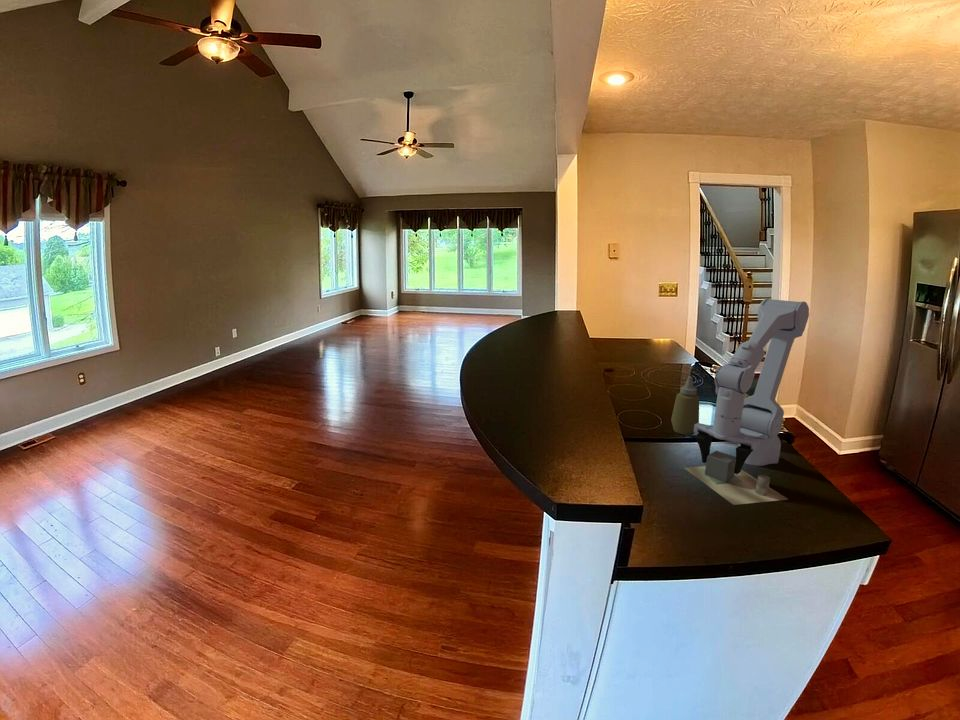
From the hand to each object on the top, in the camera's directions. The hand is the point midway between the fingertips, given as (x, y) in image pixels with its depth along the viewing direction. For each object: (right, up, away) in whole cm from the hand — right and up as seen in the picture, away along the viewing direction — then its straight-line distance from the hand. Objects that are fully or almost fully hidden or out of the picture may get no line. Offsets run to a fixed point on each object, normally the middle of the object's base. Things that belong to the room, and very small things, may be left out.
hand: (720, 467), depth 115 cm
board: (+2, -5, -2) cm, 5 cm away
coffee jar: (+23, +2, +26) cm, 34 cm away
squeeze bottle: (+5, +4, +33) cm, 33 cm away
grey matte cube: (0, -2, +1) cm, 2 cm away
